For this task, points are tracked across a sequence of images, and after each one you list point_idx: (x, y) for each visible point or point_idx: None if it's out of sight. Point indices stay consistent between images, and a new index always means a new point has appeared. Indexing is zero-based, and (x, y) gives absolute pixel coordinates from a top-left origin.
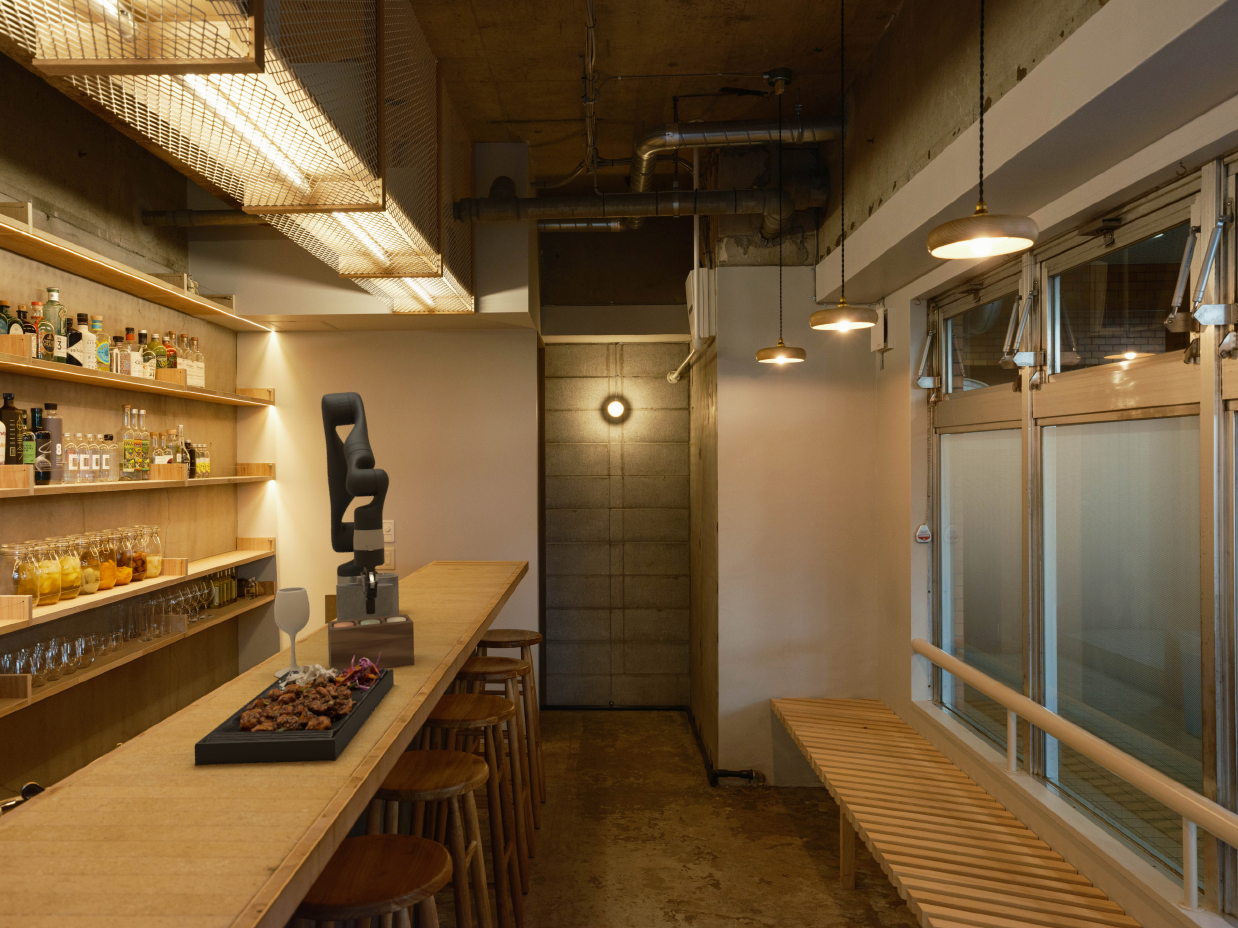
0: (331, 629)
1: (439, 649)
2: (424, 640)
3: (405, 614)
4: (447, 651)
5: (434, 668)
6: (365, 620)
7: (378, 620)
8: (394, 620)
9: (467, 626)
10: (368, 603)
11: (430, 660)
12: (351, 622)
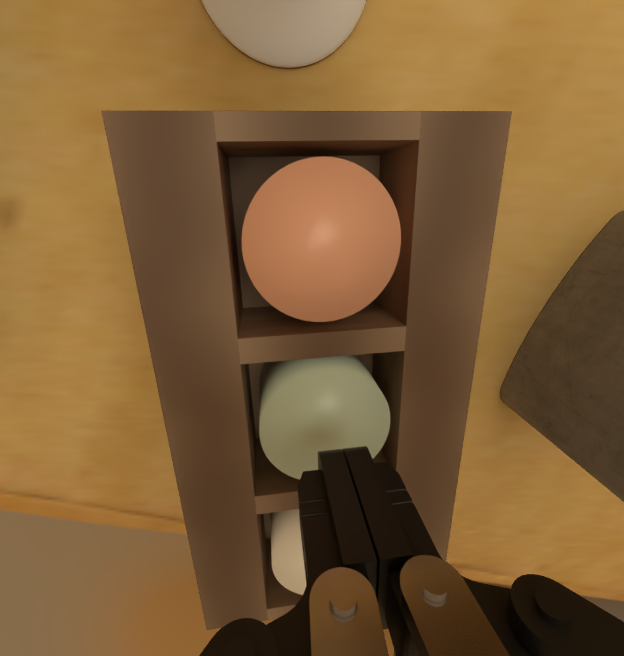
0: (147, 124)
1: None
2: (523, 488)
3: None
4: None
5: (160, 511)
6: (378, 399)
7: None
8: (291, 550)
9: (600, 584)
10: (306, 552)
11: None
12: (359, 306)
